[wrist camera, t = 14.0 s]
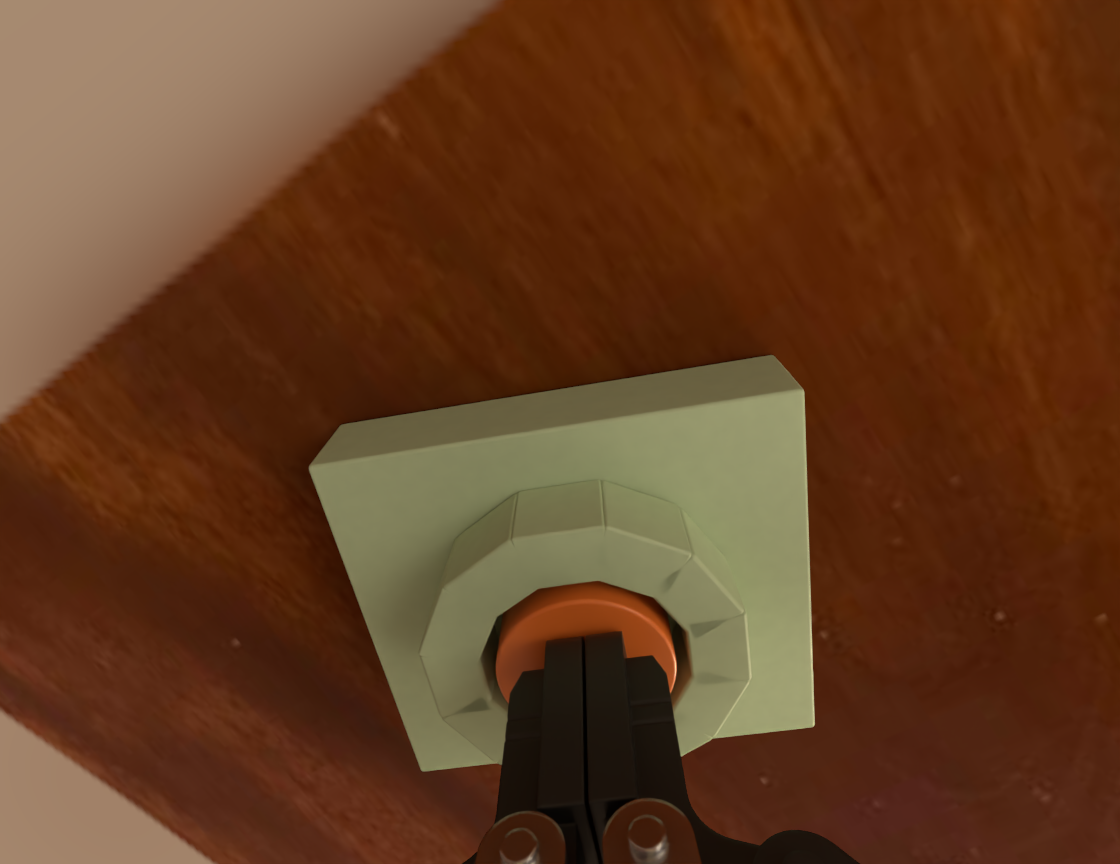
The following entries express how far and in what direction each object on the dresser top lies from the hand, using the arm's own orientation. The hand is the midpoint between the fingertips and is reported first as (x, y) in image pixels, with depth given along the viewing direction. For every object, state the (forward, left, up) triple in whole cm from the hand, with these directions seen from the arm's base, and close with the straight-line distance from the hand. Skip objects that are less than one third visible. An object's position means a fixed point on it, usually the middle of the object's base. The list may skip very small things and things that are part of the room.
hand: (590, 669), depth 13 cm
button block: (0, 0, -4) cm, 4 cm away
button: (0, 0, -2) cm, 2 cm away
